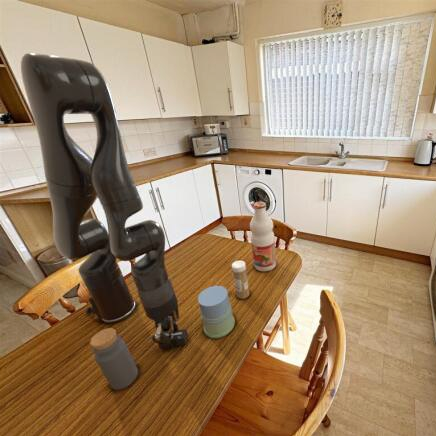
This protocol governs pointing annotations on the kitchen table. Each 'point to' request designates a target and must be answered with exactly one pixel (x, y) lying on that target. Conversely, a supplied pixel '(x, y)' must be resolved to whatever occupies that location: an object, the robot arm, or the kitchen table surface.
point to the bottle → (114, 358)
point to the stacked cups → (216, 311)
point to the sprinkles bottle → (240, 279)
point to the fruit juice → (262, 238)
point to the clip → (178, 338)
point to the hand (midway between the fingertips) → (174, 341)
